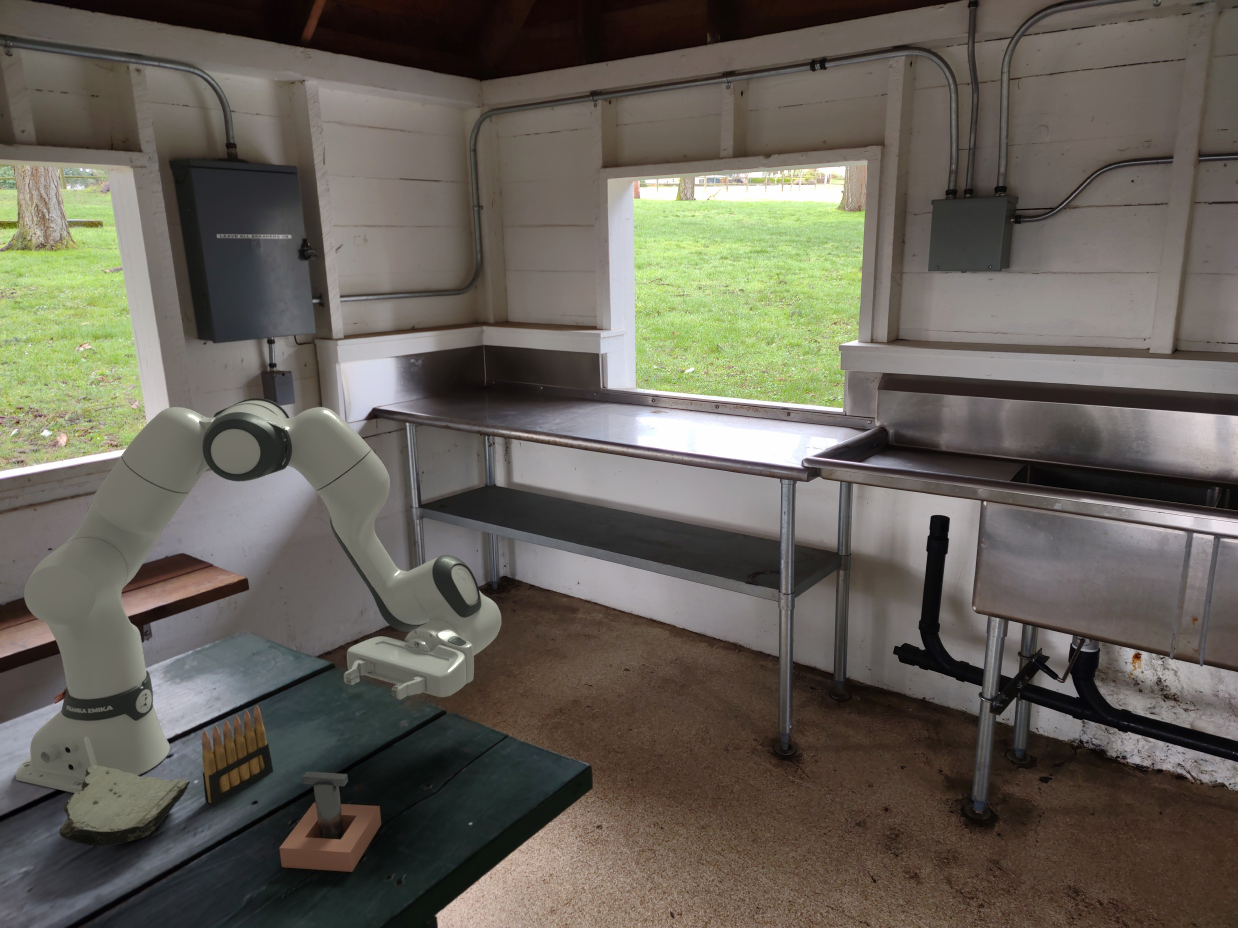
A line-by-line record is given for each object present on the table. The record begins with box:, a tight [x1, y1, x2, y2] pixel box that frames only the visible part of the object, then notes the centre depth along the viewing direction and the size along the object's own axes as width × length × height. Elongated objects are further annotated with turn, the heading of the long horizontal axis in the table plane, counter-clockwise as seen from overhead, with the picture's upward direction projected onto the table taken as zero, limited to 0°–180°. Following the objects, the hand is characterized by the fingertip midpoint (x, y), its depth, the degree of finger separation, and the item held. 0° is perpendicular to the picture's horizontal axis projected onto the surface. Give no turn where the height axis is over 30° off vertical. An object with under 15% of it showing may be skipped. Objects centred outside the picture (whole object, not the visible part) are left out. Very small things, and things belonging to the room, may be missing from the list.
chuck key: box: [302, 771, 349, 840], centre depth 118 cm, size 6×3×11 cm, turn 81°
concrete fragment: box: [59, 765, 191, 847], centre depth 122 cm, size 15×10×15 cm
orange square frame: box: [278, 801, 382, 873], centre depth 119 cm, size 10×10×3 cm
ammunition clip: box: [201, 704, 274, 807], centre depth 132 cm, size 11×2×12 cm, turn 148°
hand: (370, 686), depth 127 cm, fingers open, 8 cm apart
